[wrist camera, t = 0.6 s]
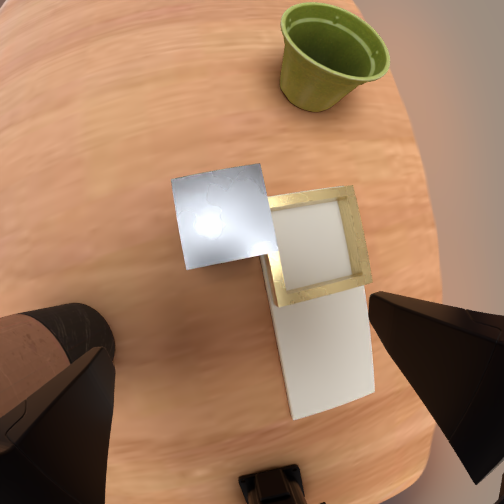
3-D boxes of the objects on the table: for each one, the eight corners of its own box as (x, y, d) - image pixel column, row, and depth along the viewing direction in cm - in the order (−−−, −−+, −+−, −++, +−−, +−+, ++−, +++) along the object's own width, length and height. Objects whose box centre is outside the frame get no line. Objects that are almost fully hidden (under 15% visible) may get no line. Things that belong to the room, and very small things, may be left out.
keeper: (361, 281, 24) (372, 282, 22) (273, 303, 23) (278, 307, 21) (343, 190, 24) (352, 185, 22) (253, 204, 23) (256, 199, 21)
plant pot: (352, 73, 26) (387, 28, 17) (347, 140, 25) (392, 98, 17) (273, 47, 25) (290, -9, 16) (254, 111, 24) (270, 53, 16)
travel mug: (111, 298, 22) (-90, 364, 2) (125, 380, 22) (10, 539, 2) (44, 300, 21) (-130, 335, 1) (58, 375, 21) (-74, 474, 1)
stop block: (253, 256, 24) (278, 251, 14) (199, 267, 23) (186, 269, 13) (242, 203, 24) (259, 163, 14) (189, 213, 23) (170, 179, 13)
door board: (370, 388, 25) (374, 391, 24) (290, 415, 24) (293, 420, 23) (339, 188, 25) (343, 185, 24) (248, 202, 24) (249, 199, 23)
